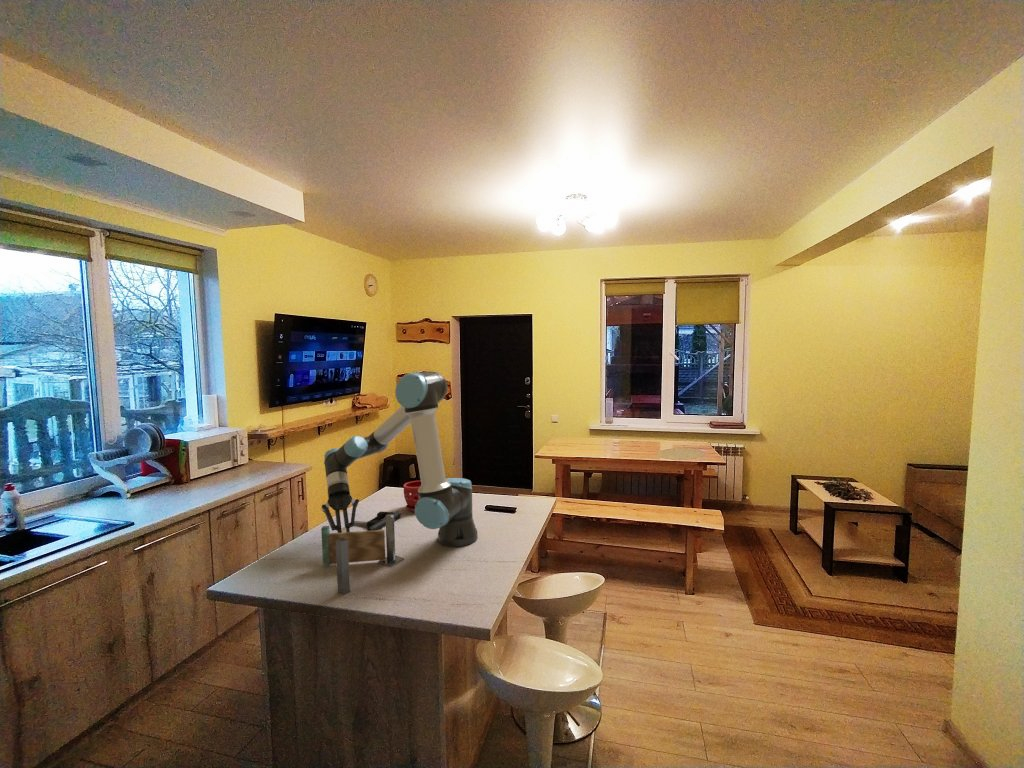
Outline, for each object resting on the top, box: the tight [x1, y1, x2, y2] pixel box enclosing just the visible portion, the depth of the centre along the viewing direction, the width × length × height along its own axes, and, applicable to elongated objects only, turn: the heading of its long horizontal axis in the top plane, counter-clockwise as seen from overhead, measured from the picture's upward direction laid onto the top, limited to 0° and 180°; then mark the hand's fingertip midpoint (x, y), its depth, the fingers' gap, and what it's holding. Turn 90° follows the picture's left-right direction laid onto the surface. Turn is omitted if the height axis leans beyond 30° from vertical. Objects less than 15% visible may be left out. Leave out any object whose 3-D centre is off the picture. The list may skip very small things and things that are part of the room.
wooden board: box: [320, 525, 386, 567], centre depth 146 cm, size 20×2×13 cm, turn 98°
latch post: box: [336, 538, 351, 596], centre depth 128 cm, size 2×2×16 cm
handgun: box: [354, 511, 402, 531], centre depth 182 cm, size 3×20×16 cm
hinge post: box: [377, 514, 405, 568], centre depth 147 cm, size 6×6×16 cm
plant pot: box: [403, 479, 421, 513], centre depth 199 cm, size 13×13×12 cm
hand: (345, 546), depth 148 cm, fingers closed
